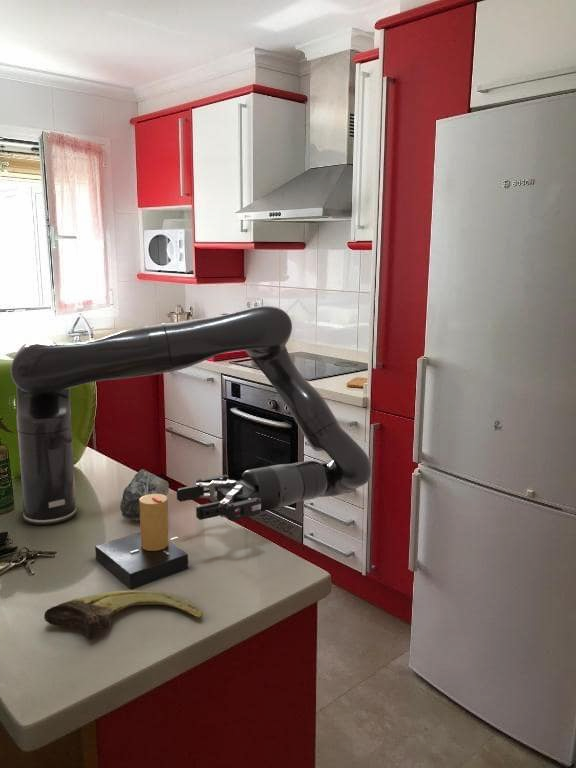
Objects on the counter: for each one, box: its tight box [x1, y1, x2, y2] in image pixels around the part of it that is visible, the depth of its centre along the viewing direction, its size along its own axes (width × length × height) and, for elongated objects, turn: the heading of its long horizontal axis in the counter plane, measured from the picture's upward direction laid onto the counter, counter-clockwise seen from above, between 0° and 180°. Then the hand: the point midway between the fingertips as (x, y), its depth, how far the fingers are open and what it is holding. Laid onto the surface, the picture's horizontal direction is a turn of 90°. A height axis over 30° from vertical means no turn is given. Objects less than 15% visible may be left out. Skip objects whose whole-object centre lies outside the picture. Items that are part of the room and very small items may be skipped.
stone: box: [119, 468, 170, 521], centre depth 119 cm, size 10×10×10 cm
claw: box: [43, 589, 204, 640], centre depth 87 cm, size 20×10×3 cm, turn 113°
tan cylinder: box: [139, 494, 170, 551], centre depth 102 cm, size 4×4×8 cm
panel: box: [94, 531, 189, 590], centre depth 102 cm, size 12×12×3 cm
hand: (187, 504), depth 104 cm, fingers open, 8 cm apart
